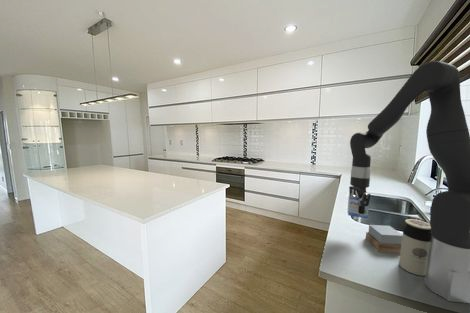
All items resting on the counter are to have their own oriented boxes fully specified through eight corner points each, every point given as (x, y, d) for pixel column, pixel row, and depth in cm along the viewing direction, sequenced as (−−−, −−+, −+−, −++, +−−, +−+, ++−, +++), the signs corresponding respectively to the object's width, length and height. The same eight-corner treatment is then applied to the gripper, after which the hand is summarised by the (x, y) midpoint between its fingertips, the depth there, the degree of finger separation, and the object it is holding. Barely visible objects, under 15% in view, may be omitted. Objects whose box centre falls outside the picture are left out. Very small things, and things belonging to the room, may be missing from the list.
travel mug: (398, 259, 78) (404, 216, 76) (426, 267, 74) (432, 222, 71) (399, 269, 72) (404, 223, 70) (428, 279, 67) (436, 231, 65)
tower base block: (403, 254, 82) (404, 245, 82) (378, 252, 83) (379, 243, 83) (387, 241, 92) (388, 233, 92) (365, 239, 93) (366, 232, 93)
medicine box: (347, 215, 92) (349, 197, 91) (347, 212, 96) (348, 195, 95) (367, 218, 88) (369, 200, 87) (366, 215, 92) (367, 197, 91)
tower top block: (403, 244, 82) (404, 235, 82) (380, 243, 83) (381, 234, 83) (388, 233, 91) (389, 225, 91) (368, 232, 92) (369, 224, 92)
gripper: (378, 179, 83) (375, 217, 84) (360, 173, 97) (357, 205, 99) (360, 179, 83) (357, 216, 85) (344, 172, 97) (342, 205, 99)
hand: (357, 210), depth 92 cm, fingers closed on medicine box, 5 cm apart
